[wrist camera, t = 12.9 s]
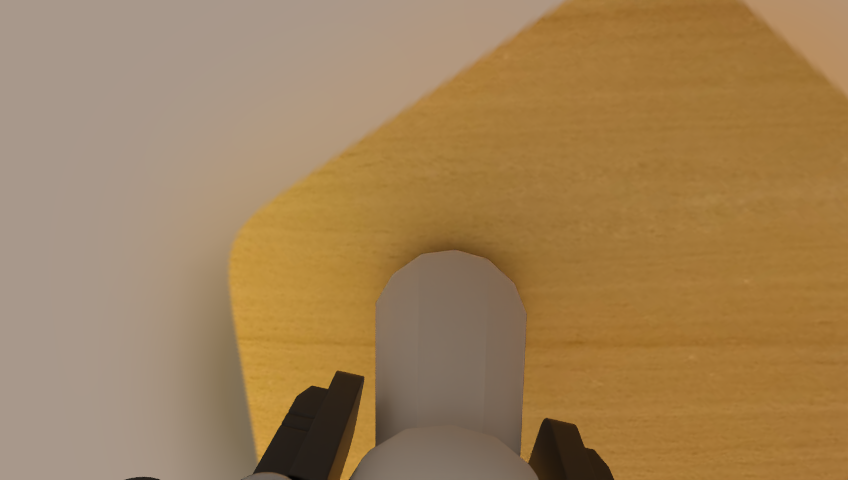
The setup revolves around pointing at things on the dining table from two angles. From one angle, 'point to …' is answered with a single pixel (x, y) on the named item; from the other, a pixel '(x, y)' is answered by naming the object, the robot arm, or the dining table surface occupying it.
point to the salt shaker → (448, 373)
